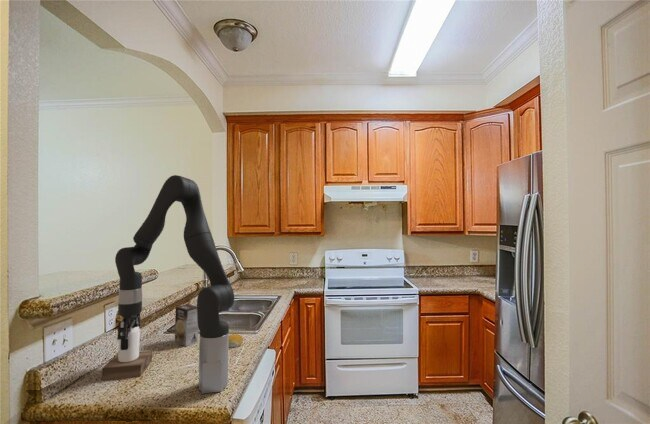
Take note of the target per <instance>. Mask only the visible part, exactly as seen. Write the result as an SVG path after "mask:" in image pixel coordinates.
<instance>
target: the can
mask: <svg viewBox="0 0 650 424" xmlns="http://www.w3.org/2000/svg"><path fill="white" fill-rule="evenodd" d="M129 329H130V328H129ZM129 329H127V330H129ZM140 333H141V329H140V327H139V325H138V324H135V325H134V326H133V328H132V332H131V333H130V334H129V338H128V349H127V350H121V340H118V351H117V352H118V353H117V354H118V361H119V362H121V363H127V362H132V361H134V360H136V359H137V358H138V357H139V352H140V338H141V337H140V335H141V334H140ZM123 336H124V334H123Z"/></svg>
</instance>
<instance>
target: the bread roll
mask: <svg viewBox="0 0 650 424" xmlns="http://www.w3.org/2000/svg"><path fill="white" fill-rule="evenodd" d="M243 342H244V338H243V337H242V335H241V334H238V333H237V334H236V333H233V334H231V335H230V334H229V345H228V349H229V348H232V349H233V348H237V347H240V346H241V345H242V344H243Z"/></svg>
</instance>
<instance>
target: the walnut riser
mask: <svg viewBox="0 0 650 424" xmlns="http://www.w3.org/2000/svg"><path fill="white" fill-rule="evenodd" d="M152 361H153V350H149V351H139V357H138V358H137V359H136V360H134V361H132V362H127V363H121V362H119V361H118V353H117V354H116V355H115V356H113V358H111V360H109V361H108V363H106V364H105V365H104V366H103V367H102V371H101V380H102V381H103V380H113V379H114V380H116V379H126V378H135V377H136V378H138V377H141V376H142V375H143V374H144V372H145V371H147V370H146V369H148V367H149V366H150V364H151V363H152Z"/></svg>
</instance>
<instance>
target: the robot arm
mask: <svg viewBox="0 0 650 424" xmlns="http://www.w3.org/2000/svg"><path fill="white" fill-rule="evenodd" d="M200 192H201V191H200V188H199V186H198V184H197V183H196V182H195V180H193V179H190V178H187V177H184V176H182V175H176V174H174V175H170V176H169V177H168V178H166V180H165V181H164V183H163V185H162V186H161V189H160V191H159V193H158V194H157V197H156V199H155V201H154V203H153V205H152V206H151V209H150V211H149V212H148V215H147V217H146V219H145V220H144V221H143V223H141V225H140V227H139V228H138V229H137V231H136V232H135V234H134V236H132V237H133V238H132V239H133V242H134V243H135V245H134V246H130V247H129V246H127V247H122V248H120V249H119V250H118V251H117V253H116V255H115V257H114V258H115V260H114V261H115V266H116V269H117V273H118V277H119V292H118V300H117V301H118V302H117V304H118V305H117V315H118V316H119V317H122V320H121V321H119V322H118V326H117V340H118V341H119V340H121V350H127V349H128V338H129V334H130V333H131V332H132V328H133V326H134V325H135V324H138V325H139V328H140V327H141V313H142V311H143V275H142V273H141V272H139V271H136V270H135V266H139V265H141V264H143V263H144V262H145V261H146V260H147V259H148V258H149V256H150V253H151V251H152V247H153V245H154V244H155V242H156V241H157V239H158V238H159V237H160V235H161V234H162V233H163V231H164V228H165V224H166V218H167V217H166V216H167V213H168V211H169V209H170V208H171V206H172V205H173V204H174V203H176V202H179V203H181V205H182V207H183V210H184V213H185V218H186V219H185V223H184V228H183V239H184V241H183V242H184V245H185V247H186V251H187V253H188V255H189V257H190V259H192V261H193V262H194V263H195V264H196V265H197V266H198V267H199V268H200V269H201V270H202V271H203V272H204V273H205V275H206V277H207V279H208V281H209V283H210V286H206V287H203V288H201V289H200V290H199V292H198V294H197V299H196V307H197V320H198V331H199V349H198V350H199V351H198V352H199V354H198V390H199V391H200V392H201V394H210V393H211V394H212V393H219V392H222V391H223V390H224V389H226V387H227V386H228V383H229V348H228V345H229V336H230V334H229V332H230V325H229V323H228V322H226V321H223V320H220V313H221V312H224V311H227V310H229V309H231V308H232V307H233V306H234V303H235V293H234V290H233V287H232V285H231V282H230V280H229V278H228V276H227V274H226V272H225V269H224V267H223V264H222V261H221V258H220V257H219V253H218V250H217V248H216V243H215V241H214V238H213V235H212V232H211V229H210V226H209V223H208V220H207V217H206V213H205V211H204V207H203V203H202V198H201V196H202V195H201V193H200ZM129 328H130V329H129ZM127 329H129V330H127ZM123 334H124V336H123Z"/></svg>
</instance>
